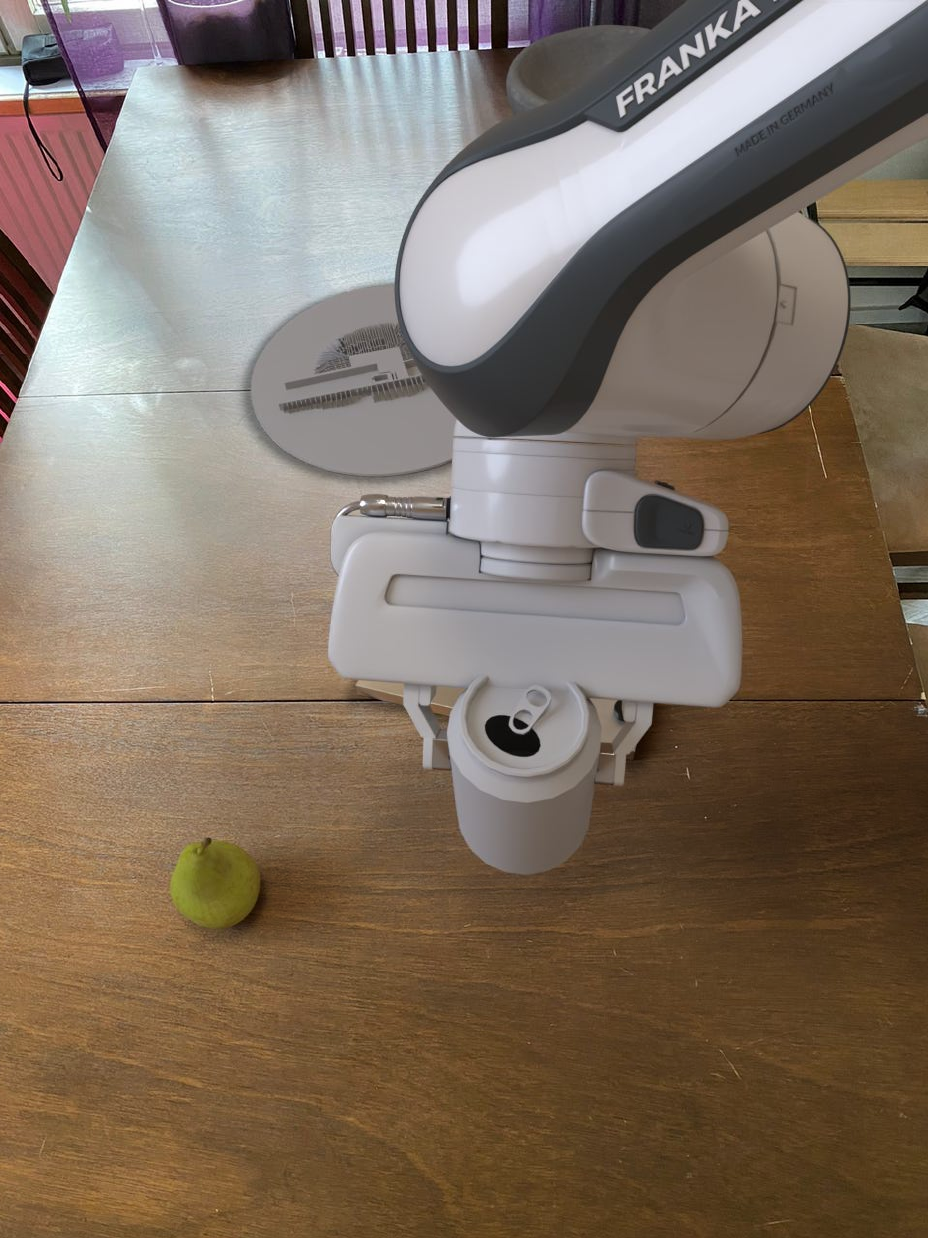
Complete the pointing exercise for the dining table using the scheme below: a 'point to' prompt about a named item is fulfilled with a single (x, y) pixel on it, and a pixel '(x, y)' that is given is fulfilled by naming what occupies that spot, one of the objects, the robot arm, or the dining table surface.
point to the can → (523, 773)
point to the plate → (351, 391)
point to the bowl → (564, 62)
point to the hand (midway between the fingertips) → (523, 774)
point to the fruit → (215, 883)
